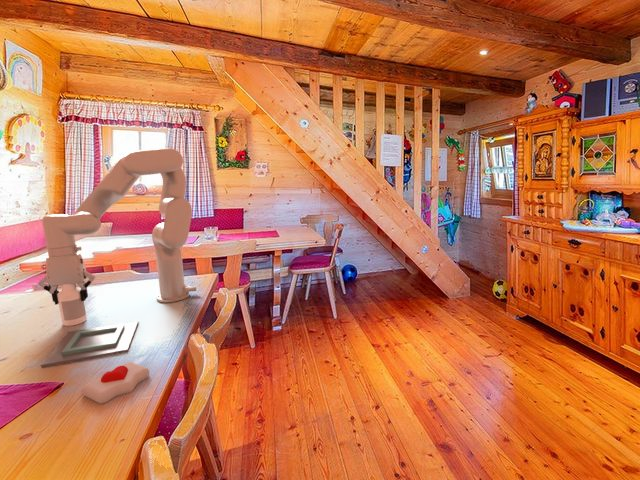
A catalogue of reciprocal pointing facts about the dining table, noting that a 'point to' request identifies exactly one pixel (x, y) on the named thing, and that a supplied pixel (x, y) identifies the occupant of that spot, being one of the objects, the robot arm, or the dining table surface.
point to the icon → (115, 382)
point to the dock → (92, 343)
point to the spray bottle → (71, 305)
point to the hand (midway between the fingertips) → (71, 301)
